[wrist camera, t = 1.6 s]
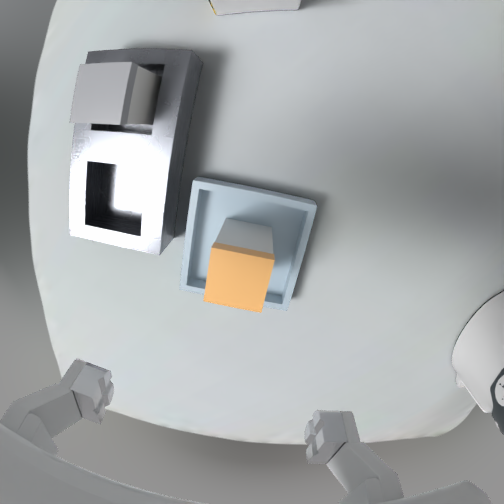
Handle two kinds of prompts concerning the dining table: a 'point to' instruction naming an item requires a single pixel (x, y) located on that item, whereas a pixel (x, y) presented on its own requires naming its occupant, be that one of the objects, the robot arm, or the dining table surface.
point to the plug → (240, 265)
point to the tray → (253, 211)
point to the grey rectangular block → (115, 94)
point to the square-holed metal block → (135, 159)
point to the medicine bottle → (252, 5)
